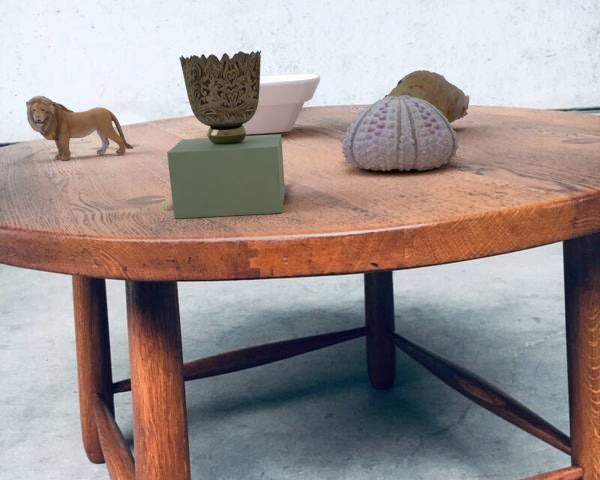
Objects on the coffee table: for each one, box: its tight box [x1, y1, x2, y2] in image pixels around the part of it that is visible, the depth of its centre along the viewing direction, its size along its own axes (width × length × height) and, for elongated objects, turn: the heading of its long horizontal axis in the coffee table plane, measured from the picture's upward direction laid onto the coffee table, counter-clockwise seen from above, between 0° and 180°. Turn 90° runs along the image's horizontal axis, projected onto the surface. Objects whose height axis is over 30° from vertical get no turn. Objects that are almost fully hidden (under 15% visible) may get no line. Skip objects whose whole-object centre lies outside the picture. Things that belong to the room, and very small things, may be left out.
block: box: [166, 133, 286, 219], centre depth 87 cm, size 10×10×6 cm
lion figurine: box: [25, 95, 134, 161], centre depth 130 cm, size 15×5×9 cm, turn 117°
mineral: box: [378, 69, 470, 124], centre depth 129 cm, size 26×9×10 cm
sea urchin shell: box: [340, 95, 460, 172], centre depth 103 cm, size 13×14×8 cm
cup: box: [179, 50, 262, 144], centre depth 84 cm, size 8×7×8 cm
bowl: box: [243, 73, 321, 135], centre depth 144 cm, size 21×21×9 cm
